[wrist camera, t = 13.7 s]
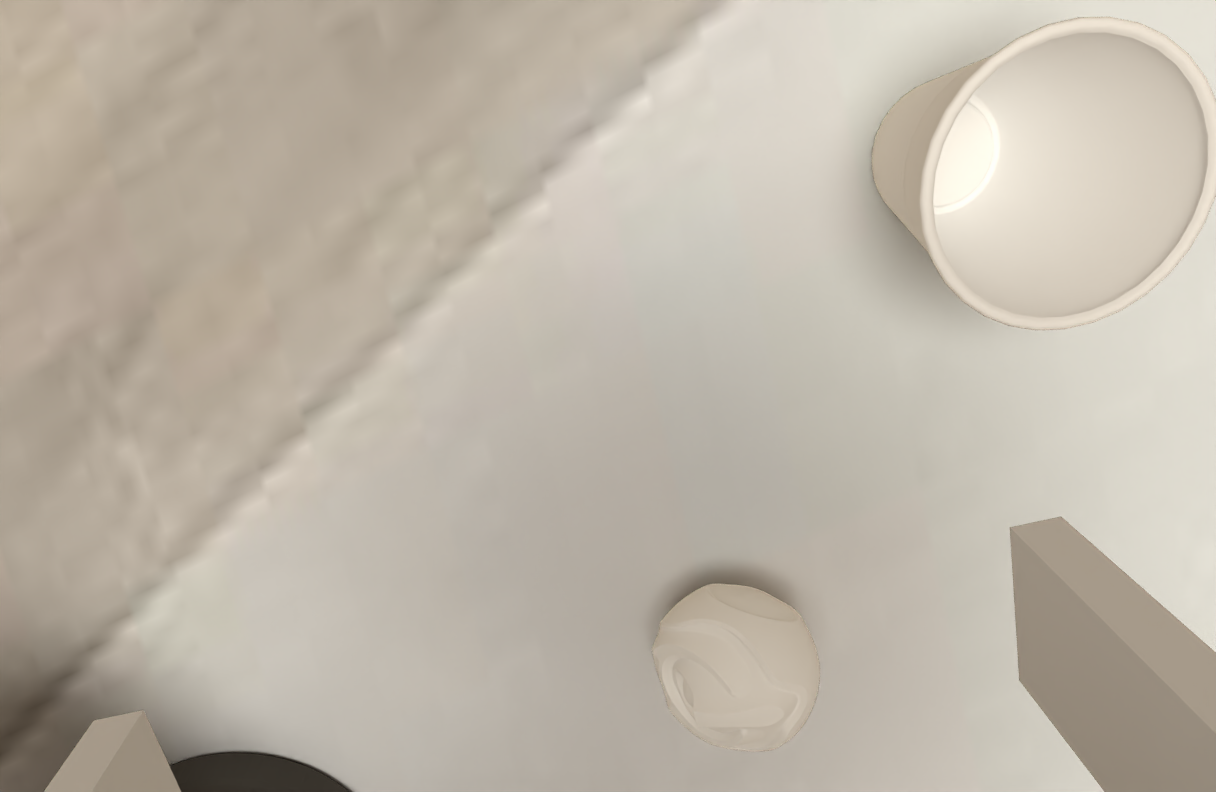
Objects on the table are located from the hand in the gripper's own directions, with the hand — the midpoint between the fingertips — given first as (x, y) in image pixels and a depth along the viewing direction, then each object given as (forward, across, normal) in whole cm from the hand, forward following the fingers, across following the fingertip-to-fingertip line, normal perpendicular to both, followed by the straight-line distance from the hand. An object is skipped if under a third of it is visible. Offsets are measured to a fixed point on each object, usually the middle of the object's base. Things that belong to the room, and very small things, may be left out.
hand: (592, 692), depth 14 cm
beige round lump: (+29, +4, -19) cm, 35 cm away
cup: (+29, +17, +2) cm, 34 cm away
